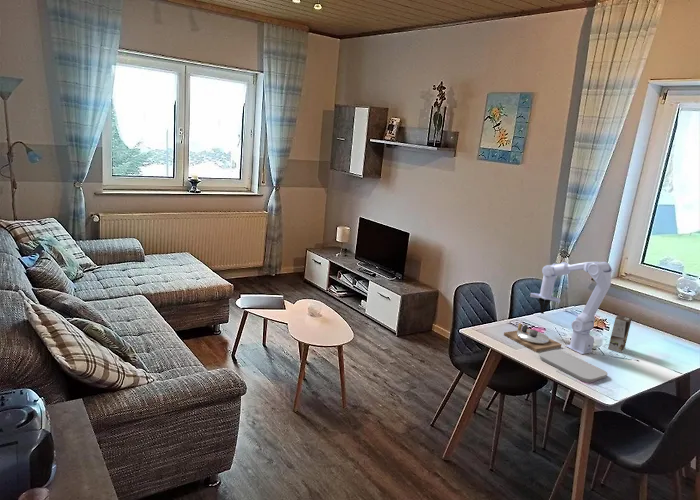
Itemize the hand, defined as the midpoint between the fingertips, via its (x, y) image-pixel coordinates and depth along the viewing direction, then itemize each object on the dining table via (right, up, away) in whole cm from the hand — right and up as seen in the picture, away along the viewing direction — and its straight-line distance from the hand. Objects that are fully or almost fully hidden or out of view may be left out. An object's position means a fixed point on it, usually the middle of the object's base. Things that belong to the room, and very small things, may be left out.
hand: (542, 313), depth 260 cm
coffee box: (+33, -17, -9) cm, 38 cm away
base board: (-9, -12, -11) cm, 19 cm away
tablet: (-1, -20, -37) cm, 42 cm away
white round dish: (-9, -11, -12) cm, 18 cm away
